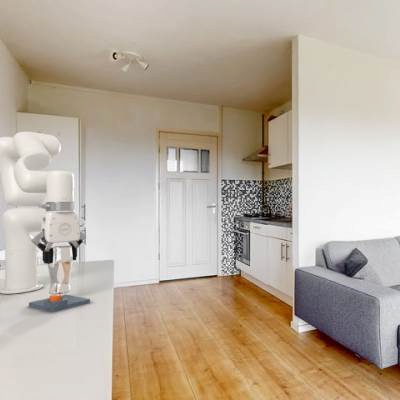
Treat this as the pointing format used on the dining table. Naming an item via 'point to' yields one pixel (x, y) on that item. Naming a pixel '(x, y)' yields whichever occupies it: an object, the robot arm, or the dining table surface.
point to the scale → (59, 303)
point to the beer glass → (60, 269)
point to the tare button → (55, 298)
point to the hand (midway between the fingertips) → (60, 261)
